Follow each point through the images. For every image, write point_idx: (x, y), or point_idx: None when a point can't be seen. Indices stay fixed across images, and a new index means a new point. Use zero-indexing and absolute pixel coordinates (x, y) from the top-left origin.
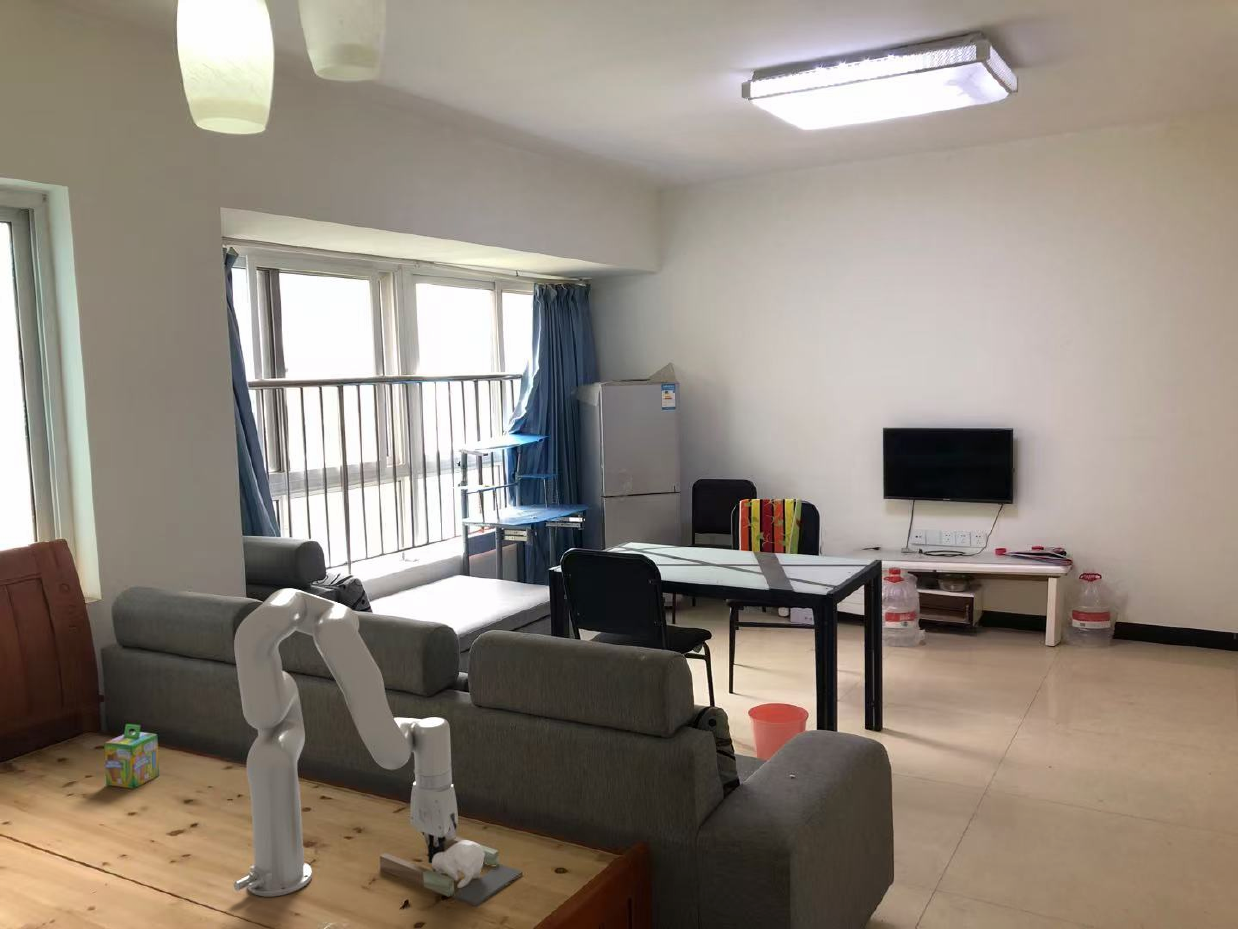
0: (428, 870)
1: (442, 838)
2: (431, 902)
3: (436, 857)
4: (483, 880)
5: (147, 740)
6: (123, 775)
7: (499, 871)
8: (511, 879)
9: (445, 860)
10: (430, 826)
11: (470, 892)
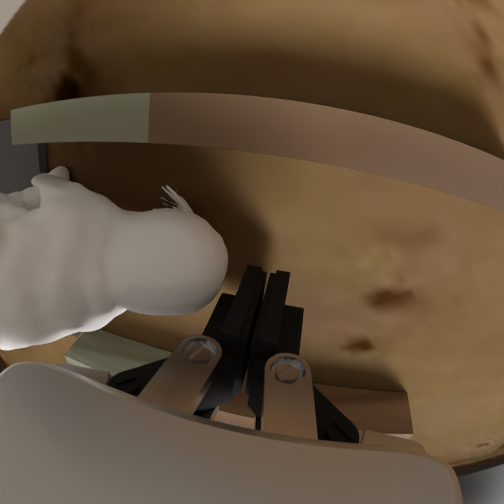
0: (141, 134)
1: (116, 385)
2: (85, 31)
3: (154, 255)
4: None
5: None
6: None
7: None
8: None
9: (47, 220)
10: (87, 480)
11: (13, 159)
